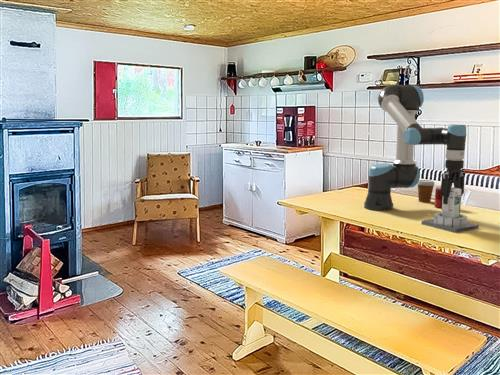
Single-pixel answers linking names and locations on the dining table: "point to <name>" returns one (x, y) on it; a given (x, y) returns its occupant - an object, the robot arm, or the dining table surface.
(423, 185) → the disposable coffee cup
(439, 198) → the canned food
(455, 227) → the ring plate
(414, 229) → the dining table surface
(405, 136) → the robot arm
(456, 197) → the syrup box
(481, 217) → the dining table surface
